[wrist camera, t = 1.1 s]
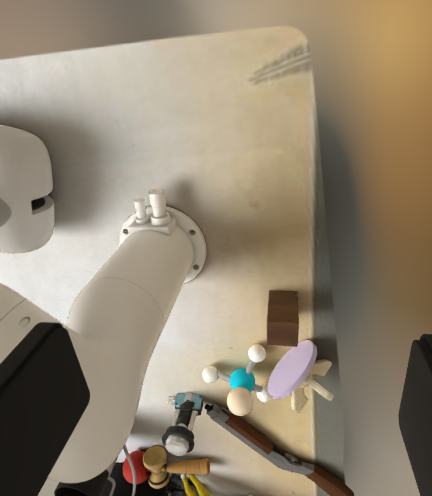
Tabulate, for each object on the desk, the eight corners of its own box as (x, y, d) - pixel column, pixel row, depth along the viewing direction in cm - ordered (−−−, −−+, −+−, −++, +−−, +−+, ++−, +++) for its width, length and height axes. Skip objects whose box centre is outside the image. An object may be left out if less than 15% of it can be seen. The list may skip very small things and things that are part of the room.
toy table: (304, 431, 51) (278, 408, 50) (280, 395, 60) (257, 375, 58) (352, 379, 51) (327, 355, 50) (321, 351, 60) (299, 330, 59)
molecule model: (243, 328, 57) (236, 371, 49) (301, 367, 59) (303, 415, 51) (201, 368, 63) (189, 412, 55) (255, 402, 65) (251, 450, 57)
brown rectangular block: (269, 290, 53) (266, 321, 47) (297, 291, 52) (298, 323, 46) (269, 312, 55) (267, 344, 49) (296, 313, 54) (297, 347, 48)
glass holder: (102, 400, 72) (61, 478, 59) (162, 435, 74) (135, 517, 61) (85, 420, 76) (43, 496, 64) (142, 453, 79) (113, 533, 66)
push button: (171, 404, 69) (154, 455, 61) (167, 385, 67) (150, 435, 58) (205, 408, 68) (193, 461, 59) (203, 388, 65) (190, 440, 57)
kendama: (206, 439, 74) (120, 444, 76) (205, 473, 69) (113, 478, 71) (211, 455, 79) (131, 460, 81) (211, 488, 74) (125, 492, 76)
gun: (354, 488, 71) (326, 495, 75) (225, 390, 64) (202, 403, 68) (355, 501, 69) (327, 508, 73) (223, 402, 62) (198, 414, 66)
